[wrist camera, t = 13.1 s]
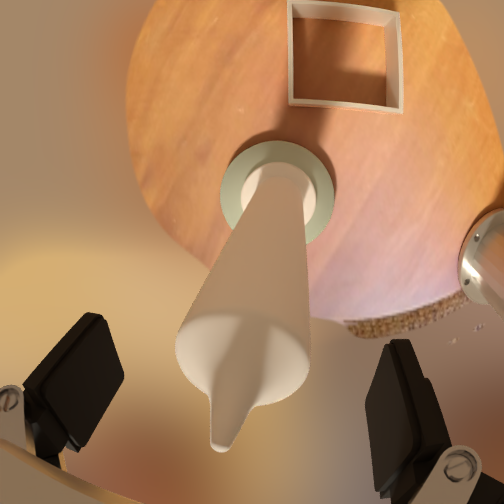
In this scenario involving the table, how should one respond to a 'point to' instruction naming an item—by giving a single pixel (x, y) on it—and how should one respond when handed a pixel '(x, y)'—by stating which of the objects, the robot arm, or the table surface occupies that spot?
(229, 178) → the pale green dome
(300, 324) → the candle
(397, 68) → the tray
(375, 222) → the table surface
